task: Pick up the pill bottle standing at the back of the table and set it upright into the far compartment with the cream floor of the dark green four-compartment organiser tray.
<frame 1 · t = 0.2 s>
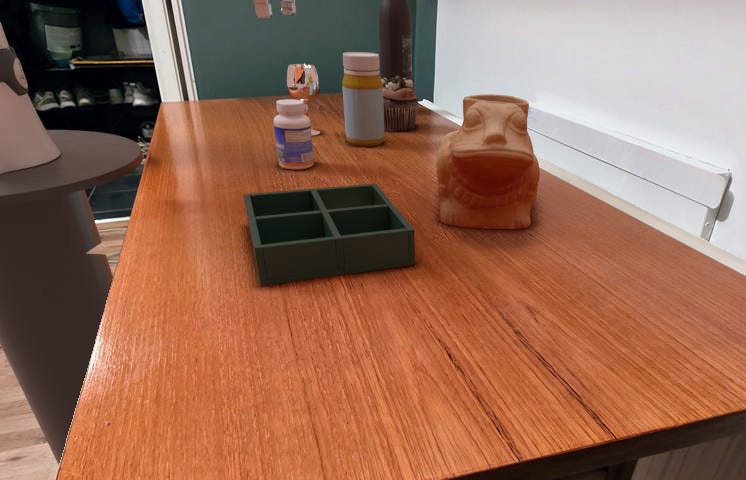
hand: (277, 16, 82), 21 cm above the table, tool pointing down, fingers open, 8 cm apart
organiser: (327, 245, 62), on the table
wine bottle: (397, 111, 128), on the table
cupcake: (395, 127, 114), on the table
pill bottle: (297, 166, 87), on the table
ceramic vessel: (485, 206, 76), on the table
wineglass: (308, 134, 105), on the table
bottle: (365, 143, 102), on the table
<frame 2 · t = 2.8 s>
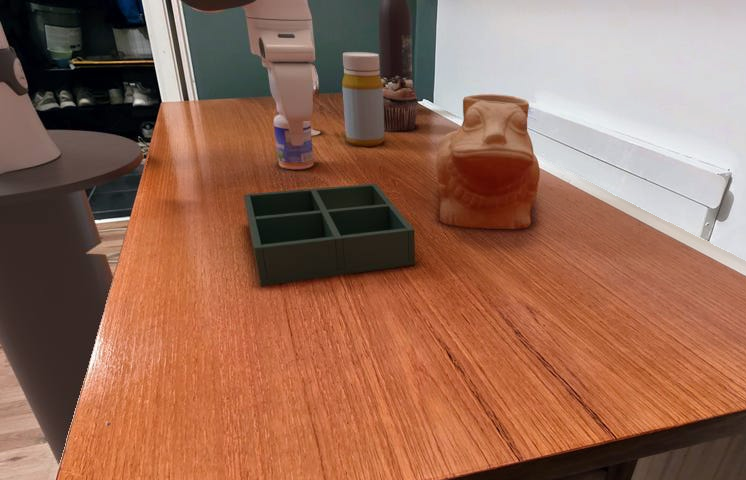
hand: (294, 139, 85), 4 cm above the table, tool pointing down, fingers closed on pill bottle, 5 cm apart
pill bottle: (297, 166, 87), on the table, touching gripper
everything else where it was.
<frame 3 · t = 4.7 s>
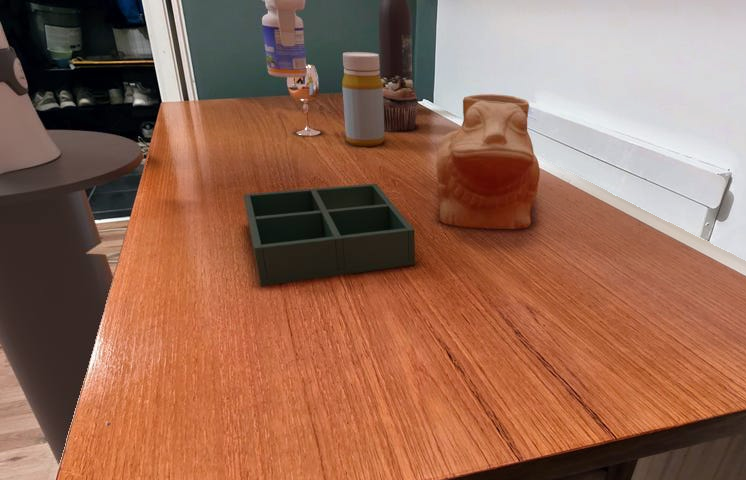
hand: (284, 43, 76), 18 cm above the table, tool pointing down, fingers closed on pill bottle, 5 cm apart
pill bottle: (288, 76, 79), point 14 cm above the table, touching gripper
everything else where it was.
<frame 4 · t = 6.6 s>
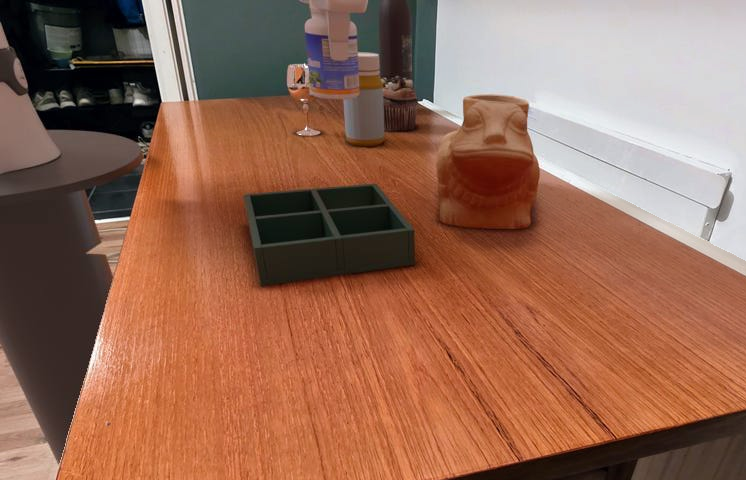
hand: (332, 55, 59), 19 cm above the table, tool pointing down, fingers closed on pill bottle, 5 cm apart
pill bottle: (336, 97, 62), point 15 cm above the table, touching gripper
everything else where it was.
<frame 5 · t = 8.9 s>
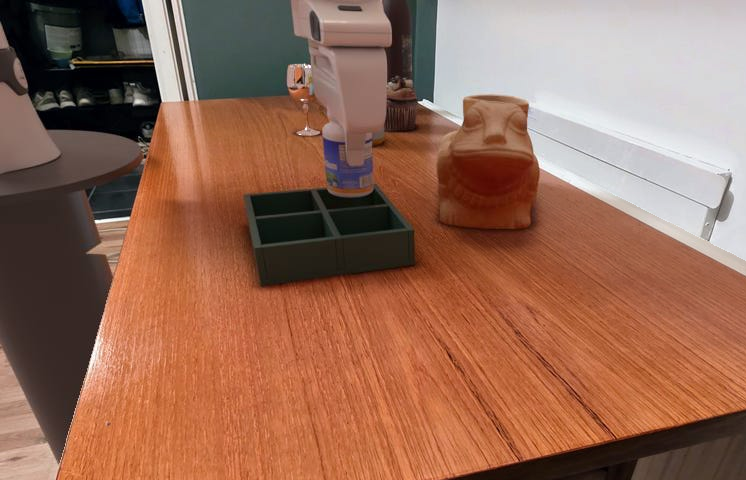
hand: (348, 156, 62), 9 cm above the table, tool pointing down, fingers closed on pill bottle, 5 cm apart
pill bottle: (351, 192, 64), point 5 cm above the table, touching gripper
everything else where it was.
when the fingers open (5 cm above the table, at t = 10.4 s): pill bottle stays where it is, resting on organiser.
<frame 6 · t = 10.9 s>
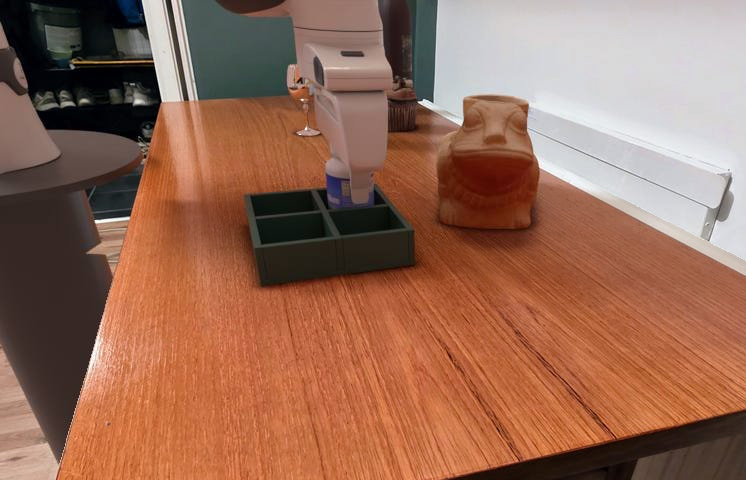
hand: (350, 188, 64), 5 cm above the table, tool pointing down, fingers open, 8 cm apart
pill bottle: (353, 224, 66), point 1 cm above the table, touching organiser
everything else where it was.
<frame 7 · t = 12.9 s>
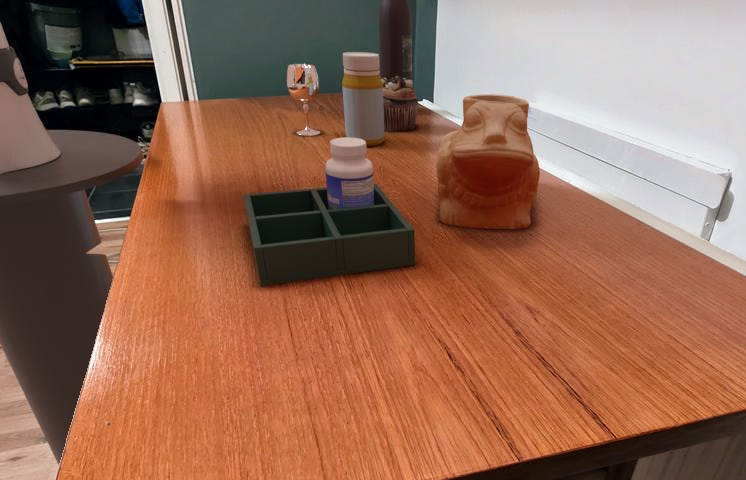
nothing on the table moved.
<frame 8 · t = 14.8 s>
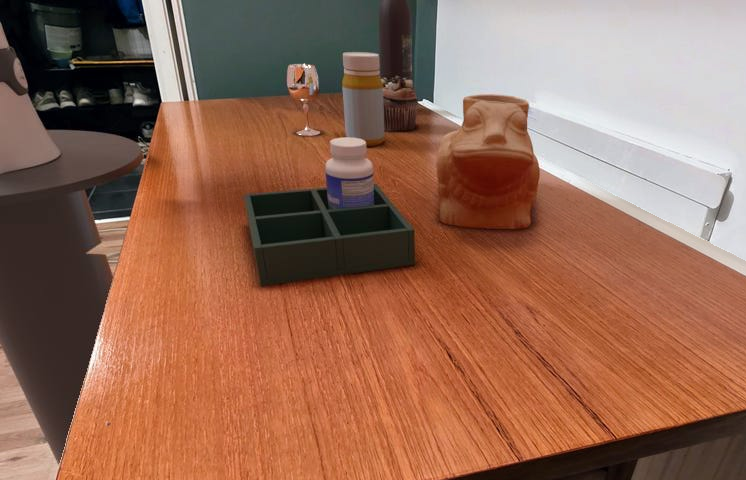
nothing on the table moved.
at the end: pill bottle 0.2 cm from the target spot in the organiser, point 0.6 cm above the organiser's base; pill bottle tilted 0°; the gripper is holding nothing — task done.
